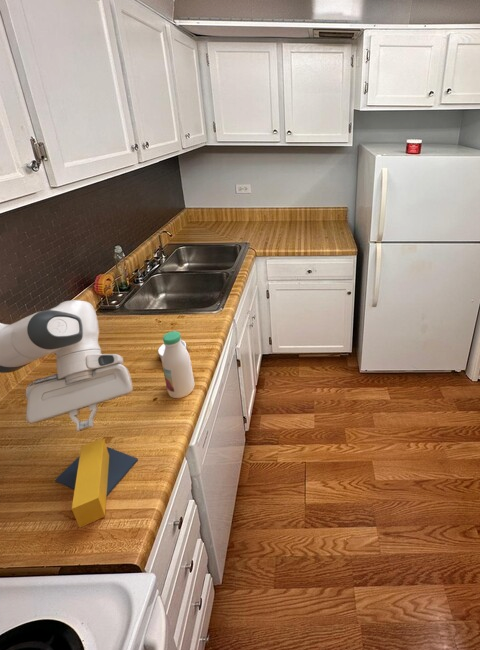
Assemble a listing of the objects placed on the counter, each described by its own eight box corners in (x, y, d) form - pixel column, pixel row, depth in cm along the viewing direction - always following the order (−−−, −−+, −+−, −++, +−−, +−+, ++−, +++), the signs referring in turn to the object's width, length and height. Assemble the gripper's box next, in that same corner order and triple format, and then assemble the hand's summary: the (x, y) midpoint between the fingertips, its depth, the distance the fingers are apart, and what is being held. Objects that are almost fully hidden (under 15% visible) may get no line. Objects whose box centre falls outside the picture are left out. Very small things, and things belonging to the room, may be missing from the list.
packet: (81, 445, 77) (71, 509, 65) (103, 437, 79) (98, 497, 67) (87, 463, 79) (79, 527, 67) (109, 455, 81) (105, 516, 69)
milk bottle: (195, 378, 106) (187, 325, 99) (193, 396, 99) (184, 341, 92) (170, 382, 104) (159, 329, 97) (166, 401, 97) (154, 345, 90)
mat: (55, 481, 76) (54, 479, 76) (94, 443, 85) (94, 441, 85) (101, 502, 72) (101, 500, 72) (138, 460, 81) (137, 458, 80)
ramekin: (191, 359, 114) (189, 349, 112) (164, 370, 109) (161, 359, 107) (183, 346, 121) (181, 336, 119) (157, 355, 116) (155, 345, 114)
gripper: (19, 380, 72) (21, 450, 68) (126, 352, 81) (133, 412, 76) (31, 383, 77) (33, 447, 73) (129, 356, 86) (137, 412, 82)
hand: (85, 429), depth 75 cm, fingers closed
